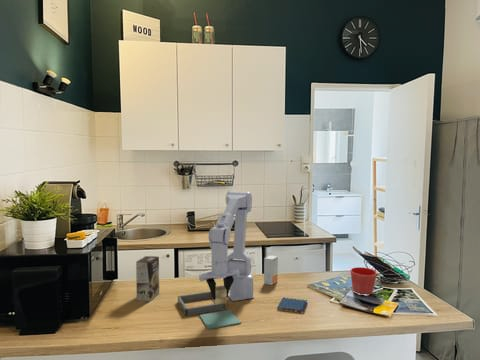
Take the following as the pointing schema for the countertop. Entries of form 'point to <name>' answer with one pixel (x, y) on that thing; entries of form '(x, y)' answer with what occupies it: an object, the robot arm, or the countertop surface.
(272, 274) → the skincare box
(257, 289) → the countertop surface
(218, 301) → the maple block
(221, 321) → the teal board
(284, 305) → the dark blue flat block
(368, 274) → the flower pot
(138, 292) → the coffee box
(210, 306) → the gray rectangular frame
